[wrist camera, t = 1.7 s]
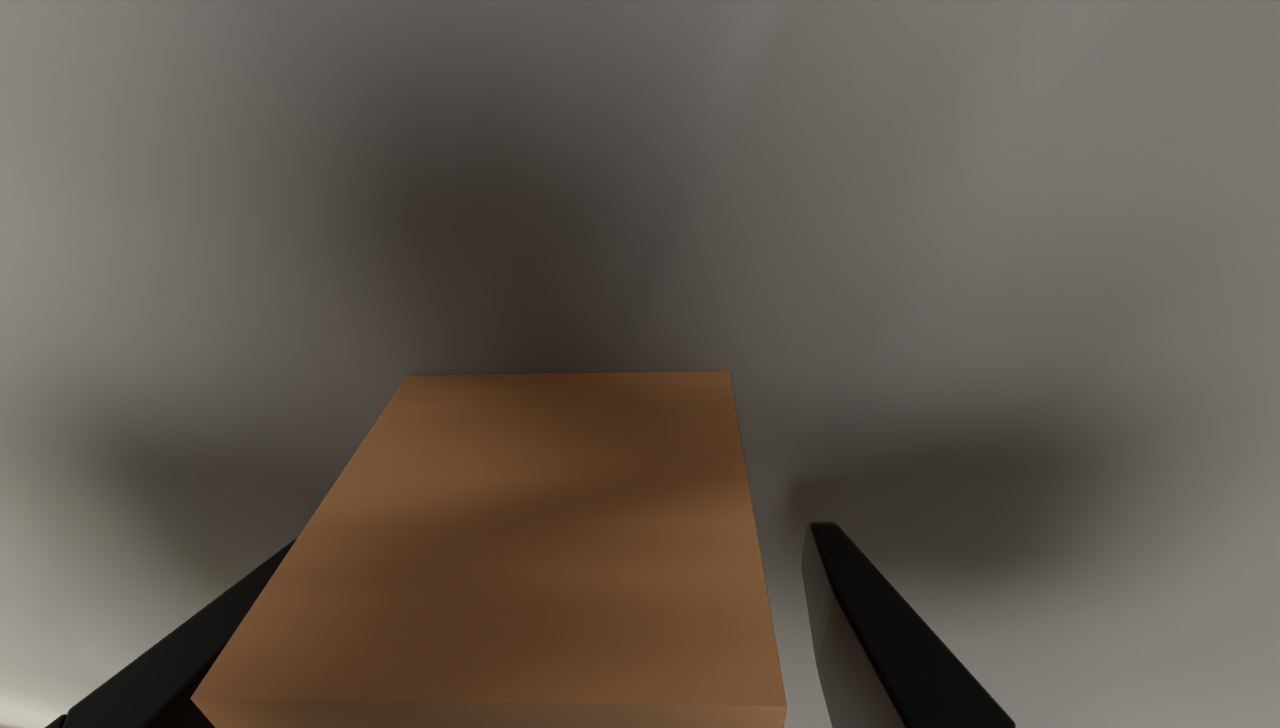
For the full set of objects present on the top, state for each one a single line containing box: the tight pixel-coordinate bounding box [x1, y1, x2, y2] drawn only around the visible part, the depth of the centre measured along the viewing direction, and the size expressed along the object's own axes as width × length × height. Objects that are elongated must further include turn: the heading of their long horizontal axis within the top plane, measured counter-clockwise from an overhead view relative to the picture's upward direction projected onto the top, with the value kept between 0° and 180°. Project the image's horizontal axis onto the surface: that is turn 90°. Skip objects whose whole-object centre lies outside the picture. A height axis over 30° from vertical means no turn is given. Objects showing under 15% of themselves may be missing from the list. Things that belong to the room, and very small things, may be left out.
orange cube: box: [190, 371, 787, 728], centre depth 8 cm, size 5×5×5 cm
